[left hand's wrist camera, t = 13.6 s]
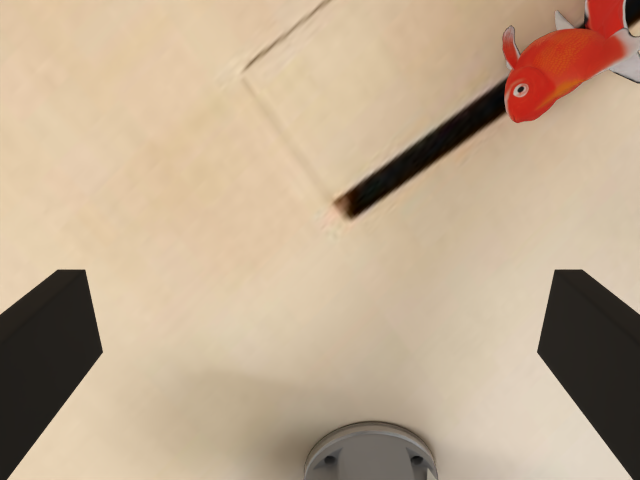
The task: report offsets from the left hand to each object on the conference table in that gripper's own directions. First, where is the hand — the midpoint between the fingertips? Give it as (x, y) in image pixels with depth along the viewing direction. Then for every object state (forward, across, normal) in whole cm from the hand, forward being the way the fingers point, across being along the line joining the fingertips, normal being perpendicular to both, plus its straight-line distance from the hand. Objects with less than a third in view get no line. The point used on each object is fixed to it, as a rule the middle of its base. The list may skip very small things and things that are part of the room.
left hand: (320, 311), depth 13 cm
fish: (+28, -19, -9) cm, 35 cm away
